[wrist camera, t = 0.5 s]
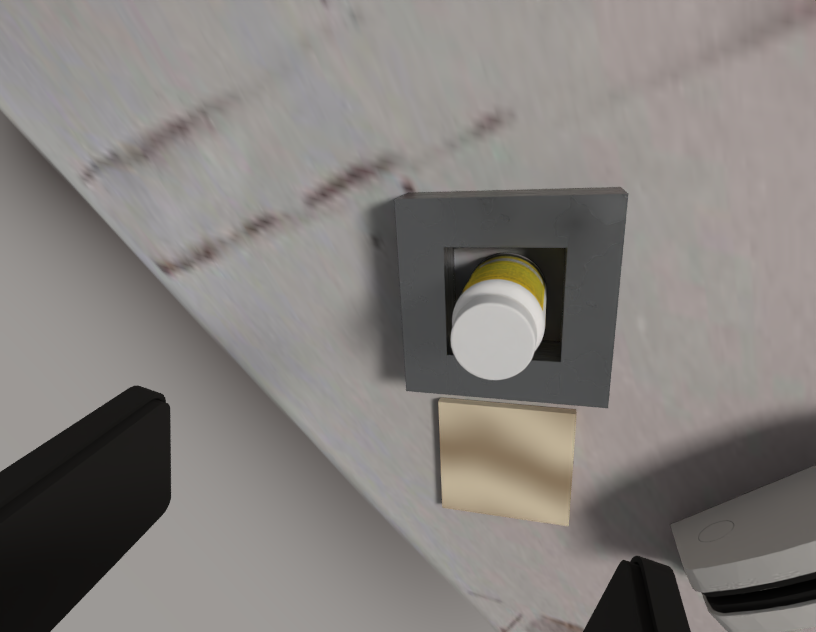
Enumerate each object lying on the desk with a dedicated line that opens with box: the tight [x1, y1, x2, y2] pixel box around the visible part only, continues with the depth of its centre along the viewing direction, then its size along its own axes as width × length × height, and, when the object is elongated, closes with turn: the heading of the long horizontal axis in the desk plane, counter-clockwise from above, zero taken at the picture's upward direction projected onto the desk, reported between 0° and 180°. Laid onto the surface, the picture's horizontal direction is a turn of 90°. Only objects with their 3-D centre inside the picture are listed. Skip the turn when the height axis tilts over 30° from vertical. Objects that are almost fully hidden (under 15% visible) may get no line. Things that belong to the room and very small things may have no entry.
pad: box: [438, 398, 576, 526], centre depth 35 cm, size 9×9×1 cm
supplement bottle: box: [450, 253, 547, 380], centre depth 27 cm, size 5×5×8 cm
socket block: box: [394, 187, 628, 408], centre depth 29 cm, size 12×12×3 cm
